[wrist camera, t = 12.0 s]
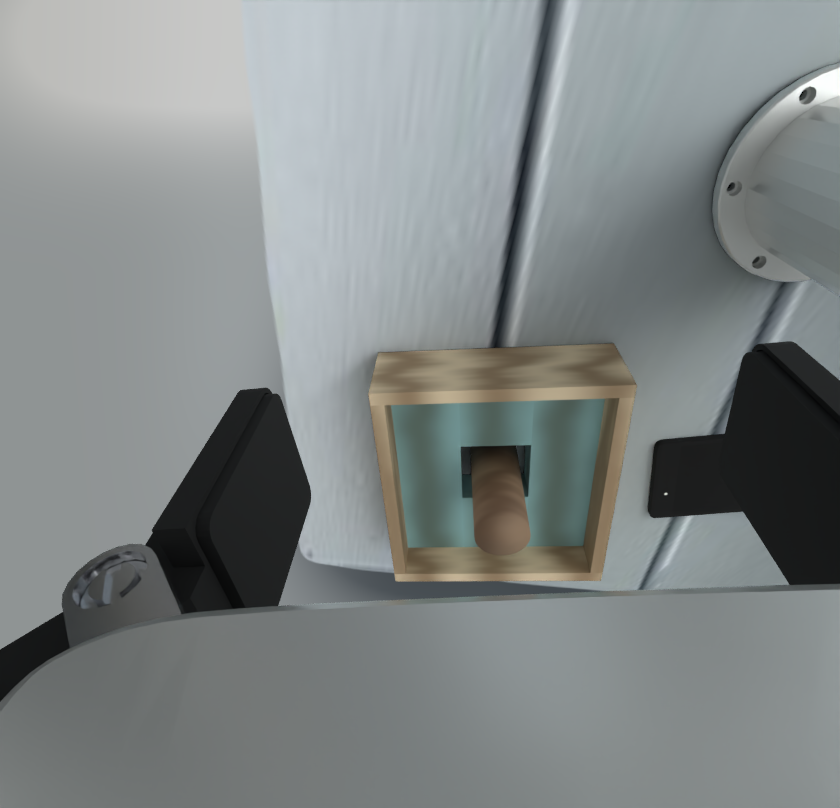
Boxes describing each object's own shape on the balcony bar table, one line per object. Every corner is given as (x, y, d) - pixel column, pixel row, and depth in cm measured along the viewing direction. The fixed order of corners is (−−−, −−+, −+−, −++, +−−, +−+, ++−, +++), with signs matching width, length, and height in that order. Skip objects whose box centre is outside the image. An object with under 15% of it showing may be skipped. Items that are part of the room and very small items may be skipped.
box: (613, 343, 40) (636, 384, 35) (586, 528, 51) (600, 580, 46) (378, 352, 41) (368, 393, 36) (401, 531, 52) (395, 581, 47)
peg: (516, 430, 45) (532, 516, 37) (515, 466, 47) (529, 555, 39) (469, 431, 45) (473, 517, 37) (470, 467, 47) (474, 555, 39)
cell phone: (854, 495, 48) (860, 503, 47) (646, 511, 50) (649, 519, 49) (884, 415, 43) (893, 422, 42) (653, 437, 45) (656, 444, 44)
